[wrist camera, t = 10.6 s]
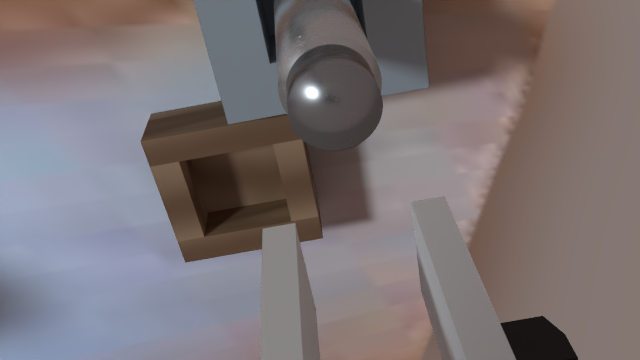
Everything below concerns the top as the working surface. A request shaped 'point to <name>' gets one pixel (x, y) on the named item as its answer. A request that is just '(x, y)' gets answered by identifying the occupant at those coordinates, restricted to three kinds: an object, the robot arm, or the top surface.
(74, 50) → the top surface
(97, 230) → the top surface
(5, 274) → the top surface
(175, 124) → the brown square frame
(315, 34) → the peg
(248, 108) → the socket block
